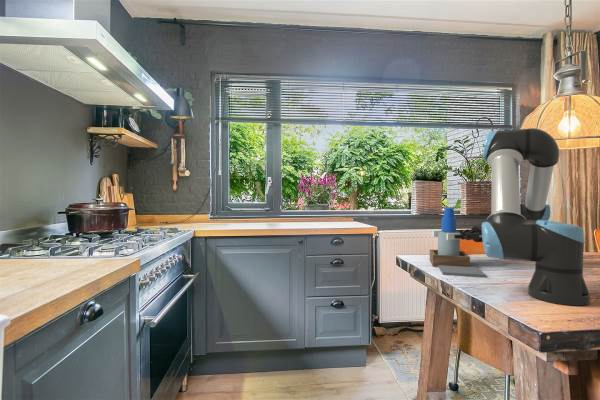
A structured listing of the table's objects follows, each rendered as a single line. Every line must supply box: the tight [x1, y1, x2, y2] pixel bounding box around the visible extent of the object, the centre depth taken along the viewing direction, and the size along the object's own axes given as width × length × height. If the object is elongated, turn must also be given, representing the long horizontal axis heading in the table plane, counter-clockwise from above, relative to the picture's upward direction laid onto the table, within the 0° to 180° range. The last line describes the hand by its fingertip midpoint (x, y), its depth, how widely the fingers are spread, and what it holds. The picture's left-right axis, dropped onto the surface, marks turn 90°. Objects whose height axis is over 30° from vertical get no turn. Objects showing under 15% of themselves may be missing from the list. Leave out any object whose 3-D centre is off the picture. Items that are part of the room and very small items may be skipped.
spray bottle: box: [437, 207, 461, 256], centre depth 153 cm, size 9×9×25 cm
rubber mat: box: [438, 265, 487, 278], centre depth 138 cm, size 13×15×1 cm
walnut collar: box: [429, 249, 471, 268], centre depth 153 cm, size 14×14×5 cm
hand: (440, 235), depth 151 cm, fingers closed on spray bottle, 9 cm apart
